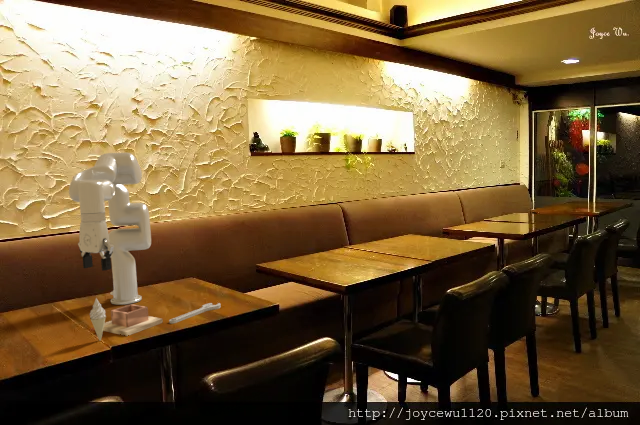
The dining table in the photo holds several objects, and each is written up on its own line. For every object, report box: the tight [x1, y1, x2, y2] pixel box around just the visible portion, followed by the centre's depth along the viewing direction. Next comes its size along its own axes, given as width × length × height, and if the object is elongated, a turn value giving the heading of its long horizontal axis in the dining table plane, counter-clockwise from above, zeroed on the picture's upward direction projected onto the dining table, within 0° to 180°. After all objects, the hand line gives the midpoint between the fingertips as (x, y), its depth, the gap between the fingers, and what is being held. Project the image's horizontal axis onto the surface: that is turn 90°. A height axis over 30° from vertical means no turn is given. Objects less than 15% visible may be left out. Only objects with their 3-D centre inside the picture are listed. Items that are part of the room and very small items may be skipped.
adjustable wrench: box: [168, 302, 221, 324], centre depth 200 cm, size 25×6×2 cm, turn 144°
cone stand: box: [103, 303, 164, 337], centre depth 187 cm, size 16×16×6 cm
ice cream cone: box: [89, 297, 107, 341], centre depth 172 cm, size 5×5×15 cm
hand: (97, 268), depth 171 cm, fingers open, 9 cm apart
